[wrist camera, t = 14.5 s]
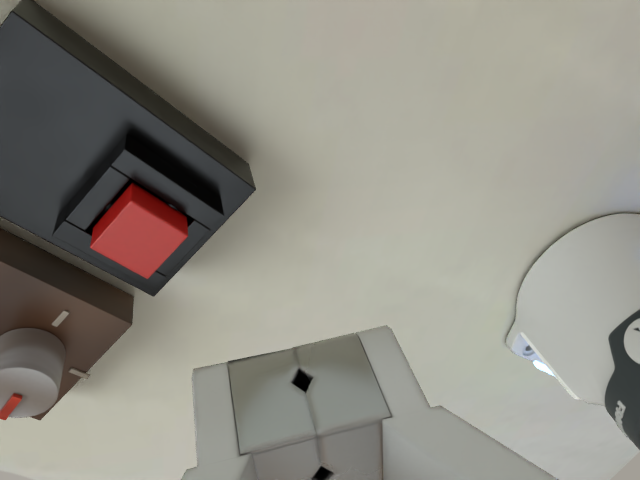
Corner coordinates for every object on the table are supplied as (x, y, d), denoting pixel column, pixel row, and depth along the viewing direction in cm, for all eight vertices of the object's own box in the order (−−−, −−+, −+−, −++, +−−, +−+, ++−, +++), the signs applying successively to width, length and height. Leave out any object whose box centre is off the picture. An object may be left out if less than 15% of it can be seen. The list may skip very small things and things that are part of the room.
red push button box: (249, 163, 36) (261, 206, 32) (154, 265, 39) (153, 317, 35) (26, -6, 28) (2, 20, 24) (-75, 137, 31) (-114, 184, 27)
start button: (187, 216, 32) (189, 236, 30) (148, 258, 33) (147, 280, 31) (132, 181, 30) (131, 200, 28) (92, 227, 31) (88, 248, 29)
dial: (11, 317, 35) (-3, 361, 32) (78, 342, 37) (71, 386, 34) (-21, 362, 36) (-38, 409, 33) (45, 384, 39) (35, 429, 36)
